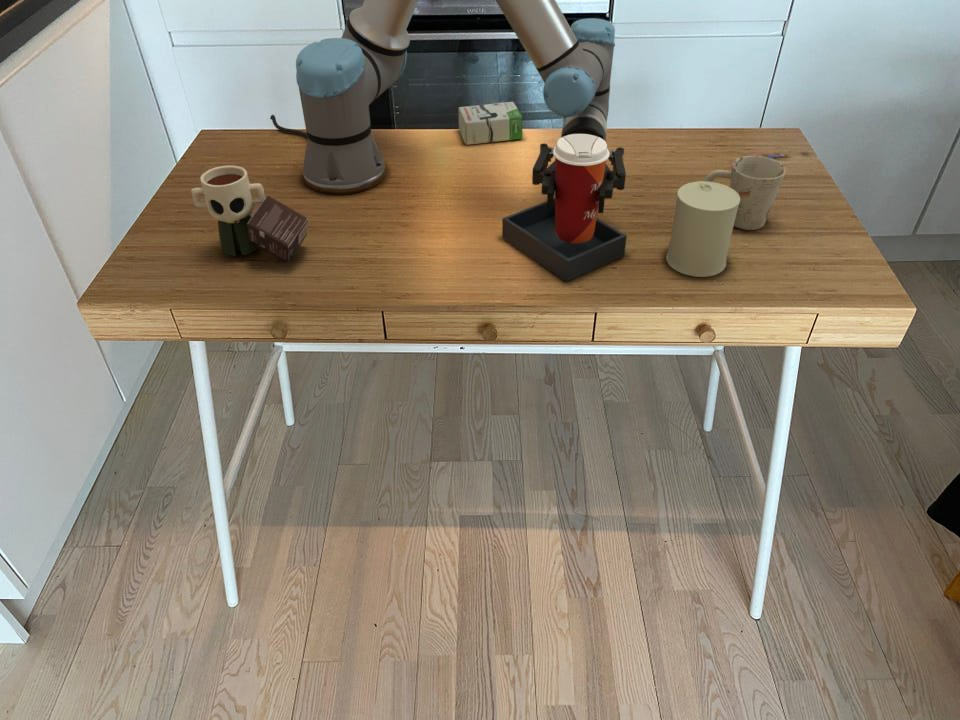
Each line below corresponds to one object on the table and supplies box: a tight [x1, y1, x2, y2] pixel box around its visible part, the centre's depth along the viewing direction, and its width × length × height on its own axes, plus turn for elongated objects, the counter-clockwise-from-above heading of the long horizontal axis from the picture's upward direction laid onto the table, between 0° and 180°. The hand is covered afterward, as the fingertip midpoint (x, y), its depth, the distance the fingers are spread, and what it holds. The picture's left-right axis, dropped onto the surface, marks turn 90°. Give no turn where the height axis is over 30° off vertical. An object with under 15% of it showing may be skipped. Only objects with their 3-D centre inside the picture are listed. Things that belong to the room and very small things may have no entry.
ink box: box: [458, 101, 523, 146], centre depth 158 cm, size 9×5×12 cm
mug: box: [702, 155, 787, 231], centre depth 128 cm, size 8×13×10 cm, turn 70°
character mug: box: [190, 164, 266, 257], centre depth 122 cm, size 11×7×13 cm, turn 98°
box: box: [247, 195, 309, 262], centre depth 121 cm, size 6×6×7 cm
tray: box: [501, 197, 627, 283], centre depth 124 cm, size 16×12×4 cm
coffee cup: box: [553, 134, 610, 243], centre depth 117 cm, size 8×8×15 cm
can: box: [665, 180, 740, 278], centre depth 118 cm, size 9×9×12 cm
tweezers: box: [767, 153, 786, 159], centre depth 149 cm, size 2×12×1 cm, turn 103°
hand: (575, 203), depth 113 cm, fingers closed on coffee cup, 7 cm apart
